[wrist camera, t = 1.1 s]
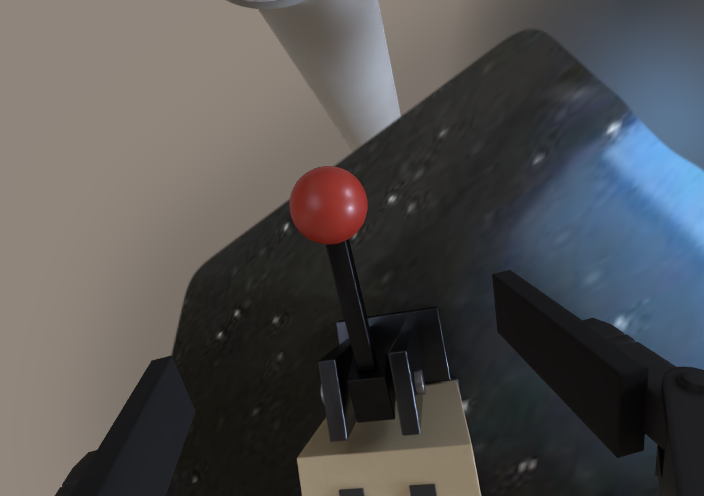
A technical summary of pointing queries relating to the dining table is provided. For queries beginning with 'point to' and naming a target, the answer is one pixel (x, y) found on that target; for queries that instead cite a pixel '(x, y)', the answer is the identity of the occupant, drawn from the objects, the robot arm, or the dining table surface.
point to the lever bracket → (405, 362)
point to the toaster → (396, 454)
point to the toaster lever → (346, 279)
